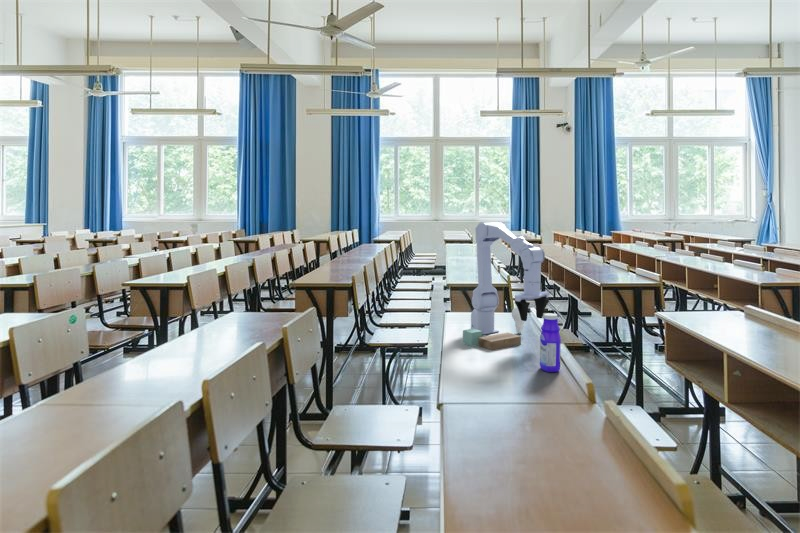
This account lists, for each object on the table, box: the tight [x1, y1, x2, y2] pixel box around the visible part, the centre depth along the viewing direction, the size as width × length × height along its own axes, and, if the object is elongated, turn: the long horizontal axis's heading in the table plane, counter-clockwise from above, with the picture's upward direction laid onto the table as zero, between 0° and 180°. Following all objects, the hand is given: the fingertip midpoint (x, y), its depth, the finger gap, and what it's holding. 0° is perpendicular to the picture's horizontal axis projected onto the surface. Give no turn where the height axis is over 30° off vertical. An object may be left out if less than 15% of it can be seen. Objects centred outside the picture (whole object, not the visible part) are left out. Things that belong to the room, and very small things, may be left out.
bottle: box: [539, 312, 562, 373], centre depth 170 cm, size 7×6×17 cm
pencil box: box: [478, 332, 522, 351], centre depth 201 cm, size 7×14×3 cm, turn 121°
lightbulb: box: [511, 306, 529, 334], centre depth 217 cm, size 6×6×11 cm
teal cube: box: [462, 328, 483, 347], centre depth 203 cm, size 5×5×5 cm
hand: (531, 319), depth 197 cm, fingers open, 7 cm apart
